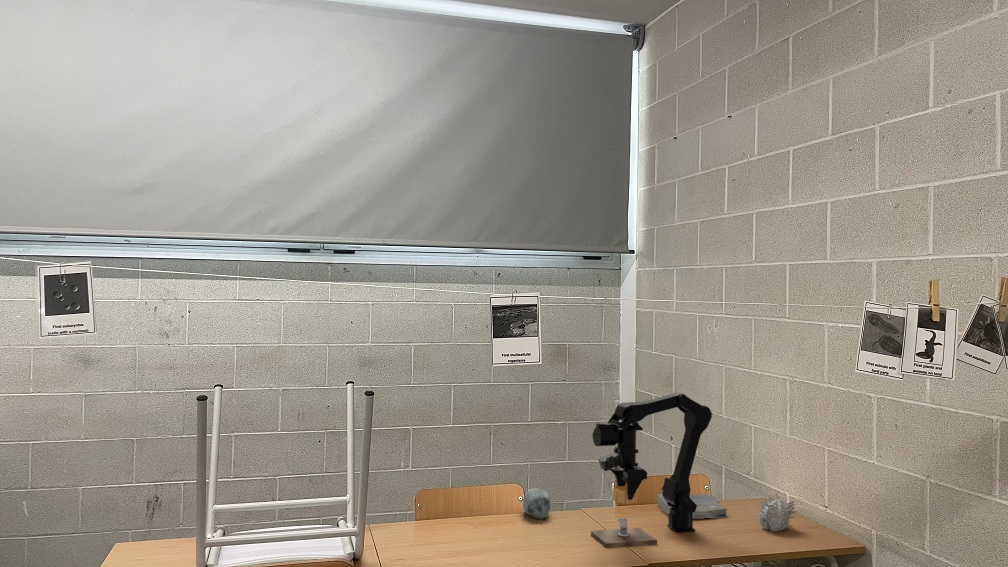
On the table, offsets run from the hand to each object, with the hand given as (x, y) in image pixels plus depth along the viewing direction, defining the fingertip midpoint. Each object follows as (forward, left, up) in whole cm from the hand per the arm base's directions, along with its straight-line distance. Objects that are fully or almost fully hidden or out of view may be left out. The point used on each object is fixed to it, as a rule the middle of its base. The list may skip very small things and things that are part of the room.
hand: (625, 496), depth 227 cm
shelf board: (+2, +4, -11) cm, 12 cm away
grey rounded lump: (+20, -26, -12) cm, 35 cm away
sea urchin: (-50, +4, -12) cm, 51 cm away
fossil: (-33, -20, -12) cm, 40 cm away
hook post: (+2, +4, -10) cm, 11 cm away
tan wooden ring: (0, 0, -1) cm, 1 cm away
